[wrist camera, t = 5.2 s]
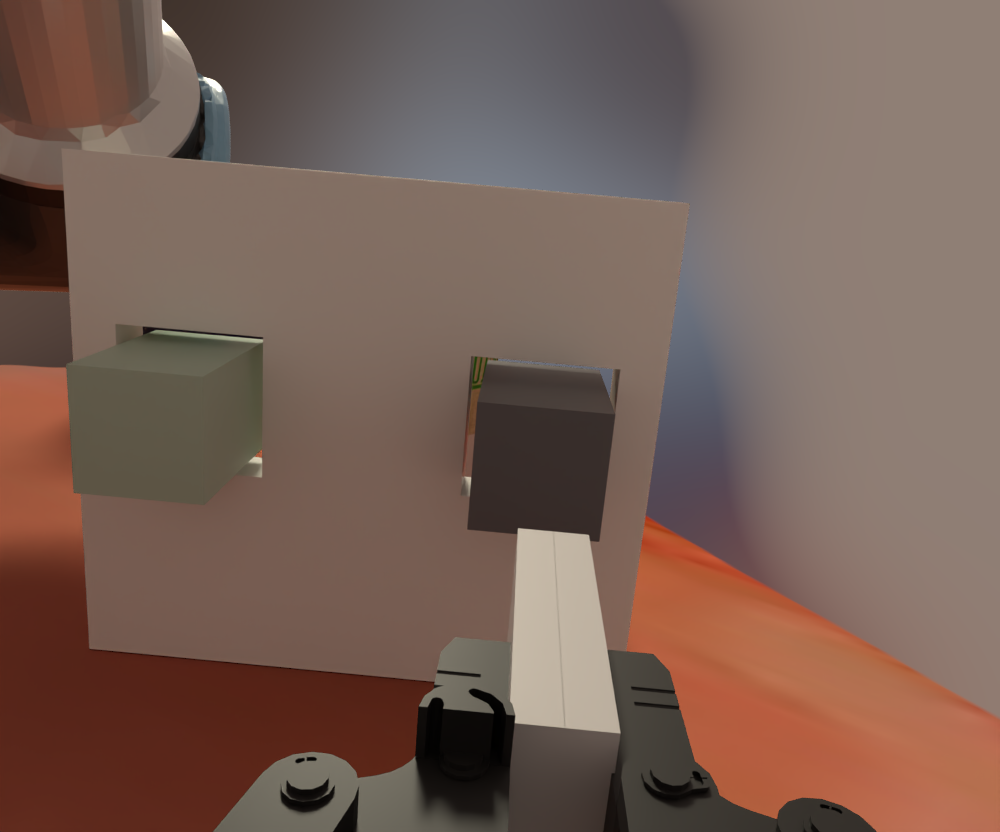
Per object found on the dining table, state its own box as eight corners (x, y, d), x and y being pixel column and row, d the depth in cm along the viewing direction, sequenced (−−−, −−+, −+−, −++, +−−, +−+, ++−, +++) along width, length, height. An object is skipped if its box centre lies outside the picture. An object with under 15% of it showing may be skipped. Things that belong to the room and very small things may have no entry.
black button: (467, 529, 25) (477, 402, 24) (479, 464, 31) (488, 359, 30) (599, 542, 25) (615, 414, 24) (586, 475, 31) (599, 370, 30)
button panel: (89, 648, 31) (61, 148, 26) (158, 576, 37) (146, 155, 32) (619, 699, 31) (689, 203, 26) (605, 618, 37) (661, 200, 32)
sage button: (73, 493, 25) (66, 364, 24) (159, 435, 31) (156, 329, 30) (204, 505, 25) (202, 376, 24) (265, 445, 31) (266, 339, 30)
